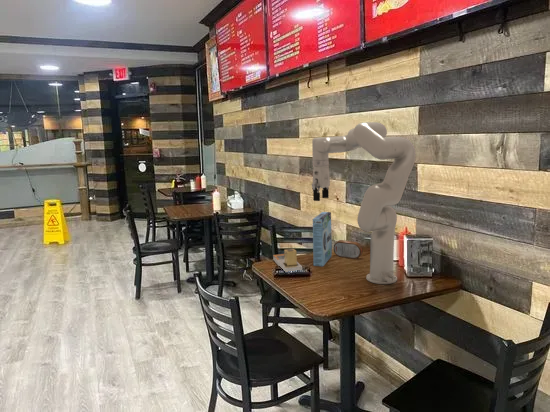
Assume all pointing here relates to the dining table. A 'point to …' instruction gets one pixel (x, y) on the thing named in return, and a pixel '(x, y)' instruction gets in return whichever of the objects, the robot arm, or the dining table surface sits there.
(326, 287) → the dining table surface
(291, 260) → the nut block
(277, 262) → the grey flat box
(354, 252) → the tin
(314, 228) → the gum box
